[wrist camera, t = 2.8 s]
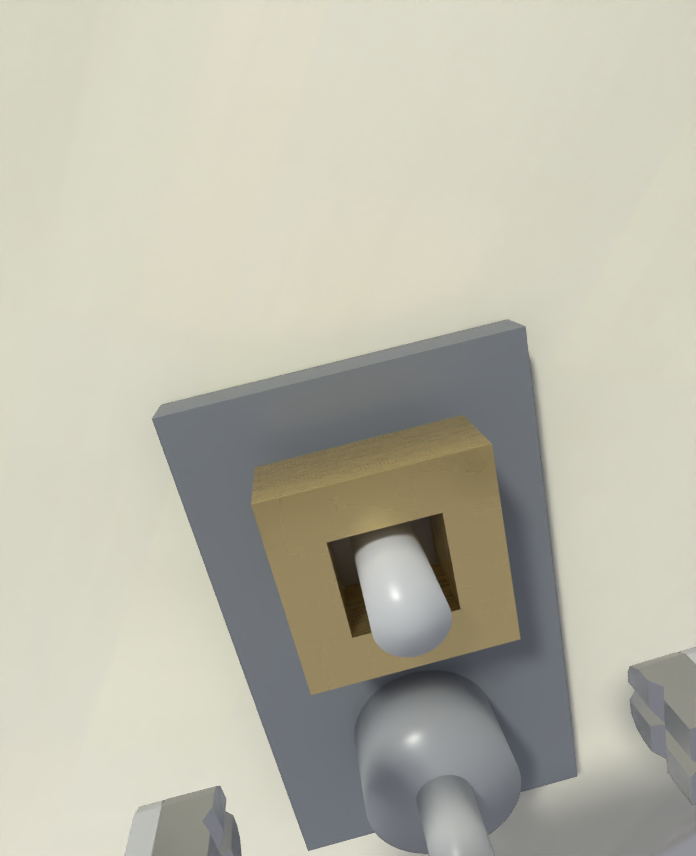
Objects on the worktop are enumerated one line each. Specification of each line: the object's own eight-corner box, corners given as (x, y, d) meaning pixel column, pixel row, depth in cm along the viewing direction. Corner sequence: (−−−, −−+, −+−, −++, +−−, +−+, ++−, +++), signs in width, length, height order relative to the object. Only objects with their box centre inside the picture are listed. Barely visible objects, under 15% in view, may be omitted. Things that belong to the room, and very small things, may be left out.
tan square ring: (462, 414, 17) (492, 443, 15) (491, 589, 19) (520, 639, 17) (254, 467, 17) (251, 504, 15) (306, 638, 19) (310, 694, 17)
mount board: (507, 319, 20) (665, 380, 12) (561, 747, 26) (684, 971, 18) (161, 405, 19) (78, 529, 11) (306, 817, 26) (319, 1078, 18)
